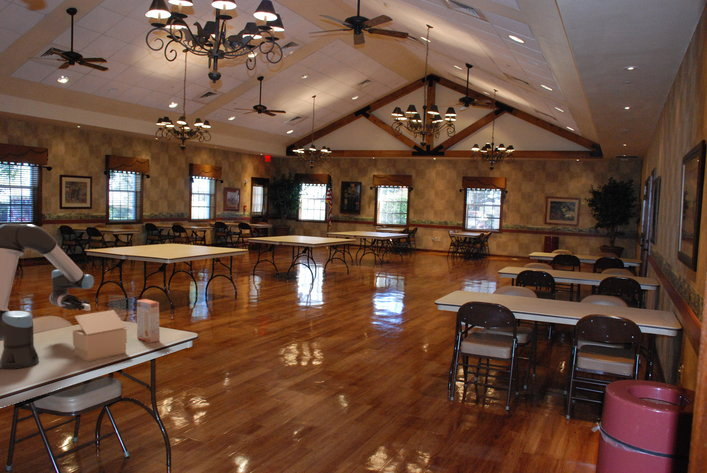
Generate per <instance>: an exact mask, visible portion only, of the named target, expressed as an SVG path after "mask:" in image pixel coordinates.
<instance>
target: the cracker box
mask: <svg viewBox="0 0 707 473" xmlns="http://www.w3.org/2000/svg"><path fill="white" fill-rule="evenodd" d="M136 330H137V331H136V333H137V335H136V336H137V339H138V340H141V341H143V342H147V343H149V344H152V343H156V342H160V341H161V340H160V302H159V301H156V300H151V299H147V298H143V299H142V298H141V299H138V300H136Z"/></svg>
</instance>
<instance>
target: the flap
mask: <svg viewBox="0 0 707 473" xmlns="http://www.w3.org/2000/svg"><path fill="white" fill-rule="evenodd" d="M120 318H121V317H120V316H119V315H118V314H117V312H116V311H115V310H114V309H112V310H105V311H104V310H103V311H98V312H91V313H85V314H79V315H74V319H75V320H76V322H77V323H78V325H79V326H80V328H81V329H83V331H84V332H85V334H86V335H92V334H97V333H102V332H108V331H113V330H119V329H124V328H126V329H127V326H126V325H125V323H124V322H123V321H122V319H120Z"/></svg>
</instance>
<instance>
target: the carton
mask: <svg viewBox="0 0 707 473" xmlns="http://www.w3.org/2000/svg"><path fill="white" fill-rule="evenodd" d="M127 340H128V336H127V327H126V328H124V329H119V330H113V331H108V332H102V333H97V334H92V335H86V334H85V332H84V331H83V329H82V328H81V329H75V330H72V346H73V347H74V357H76V358H79V359H81V360H83V361H85V362H87V363H88V362H93V361H97V360H102V359H106V358H111V357H117V356H120V355H124V354H127V351H126V350H127V347H126V346H127V345H126V344H127V343H128V342H127Z"/></svg>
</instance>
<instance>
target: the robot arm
mask: <svg viewBox="0 0 707 473" xmlns="http://www.w3.org/2000/svg"><path fill="white" fill-rule="evenodd" d="M25 250H32V251H35V252H36V253H38V254H39V255H41V256H44V257H45V258H46V259H47V260H48V261H49V262H50V263H51V264H52V265H53V267H55V268H56V269H54V270H52V271H51V294H50V295H49V299H48V300H49V302H50V303H51V304H52V305H54V306H55V307H60V308H61V309H65V310H70V311H71V310H75V311H77V310H78V311H82V310H83V311H86V312H88V311H91V309H92V308H91V305H90V302H89V301H88V299H83V300H81V299H79V298H78V296H76V295H74V294H71V293H69V289H79V290H80V289H83V290H89V289H91V288H92V287H93V286H94V284H95V278H94V277H93V276H94V275H91V274H88V273H84V272H83V271H82V269H80V267H79V266H78V265H76V263H75V262H74V261H73V260H72V259H71V257H69V256H68V254H66V252H64V250H62V248H61V247H60V246H59V245H58V242H57V240H56V239H55V238H54V236H52V234H50V233H49V232H47V231H46V230H45V229H43V228H42V227H39V226H38V225H35V224H31V223H30V224H28V223H24V224H23V223H4V224H2V223H1V224H0V341H3V342H2V343H3V350H2V353H1V356H0V368H1V369H3V368H5V370H13V369H14V370H16V368H17V369H22V368H28V367H31V366H34V365H37V364H38V363H39V361H40V360H39V358H40V357H39V354H38V352H37V350H36V347H35V344H34V341H35V340H34V319H33V318H34V317H33V315H32V314H31V313H30V312H28V311H23V310H11V311H10V310H9V308H8V305H9V300H10V297H11V293H12V288H13V284H14V280H15V275H16V270H17V267H18V262H19V258H20V257H21V256H23V255H24V252H25Z"/></svg>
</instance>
